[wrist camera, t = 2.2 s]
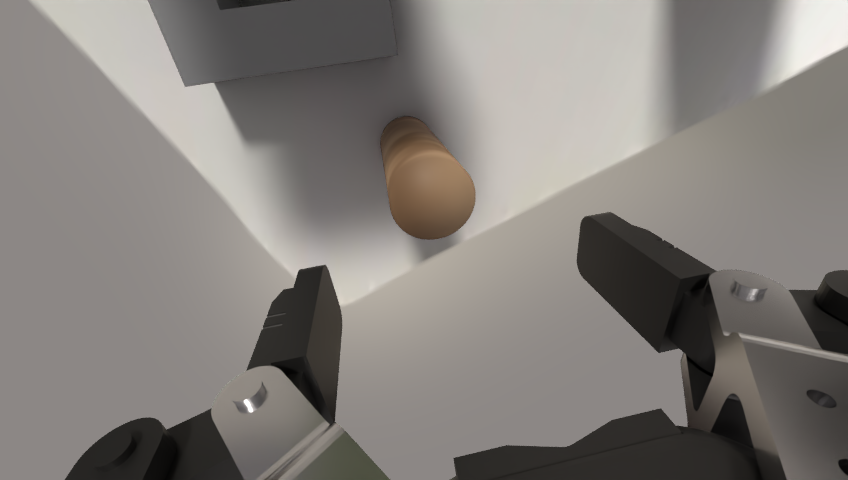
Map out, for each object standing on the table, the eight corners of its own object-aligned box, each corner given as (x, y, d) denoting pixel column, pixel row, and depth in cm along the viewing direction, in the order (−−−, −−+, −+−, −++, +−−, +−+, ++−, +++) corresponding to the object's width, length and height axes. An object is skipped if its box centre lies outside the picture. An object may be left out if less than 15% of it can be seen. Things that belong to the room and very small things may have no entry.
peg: (429, 112, 25) (472, 150, 15) (435, 164, 27) (477, 231, 17) (375, 120, 25) (381, 166, 15) (385, 173, 27) (397, 246, 17)
